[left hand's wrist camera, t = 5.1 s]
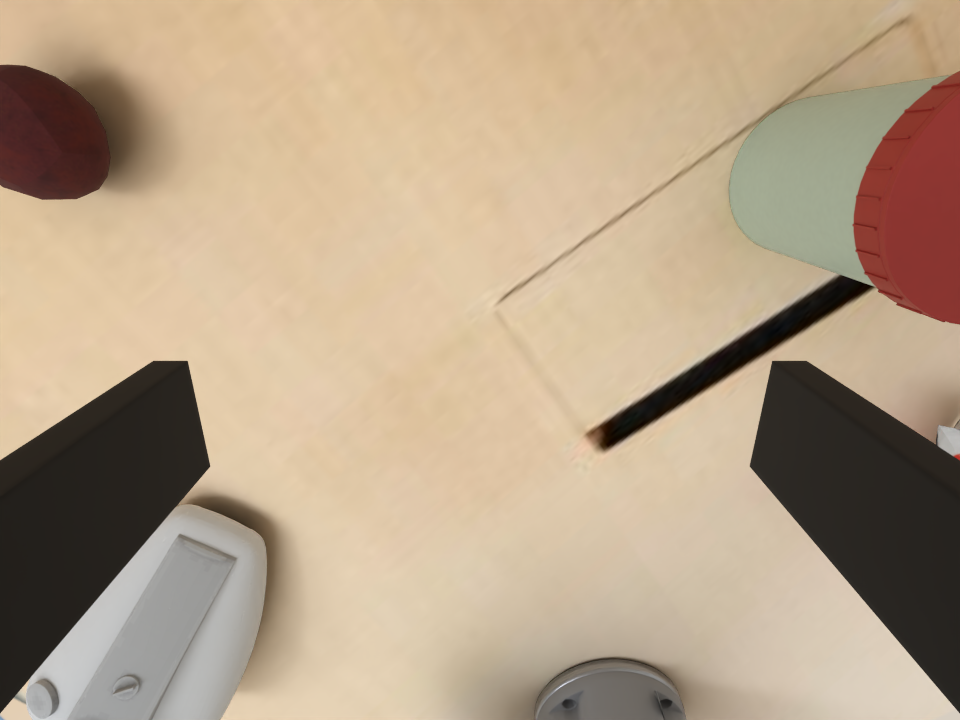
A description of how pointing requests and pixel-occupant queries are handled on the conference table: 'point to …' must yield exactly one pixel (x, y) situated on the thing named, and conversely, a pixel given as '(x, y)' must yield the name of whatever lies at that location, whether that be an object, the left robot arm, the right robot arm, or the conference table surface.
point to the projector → (163, 629)
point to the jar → (815, 172)
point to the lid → (915, 207)
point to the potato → (48, 137)
